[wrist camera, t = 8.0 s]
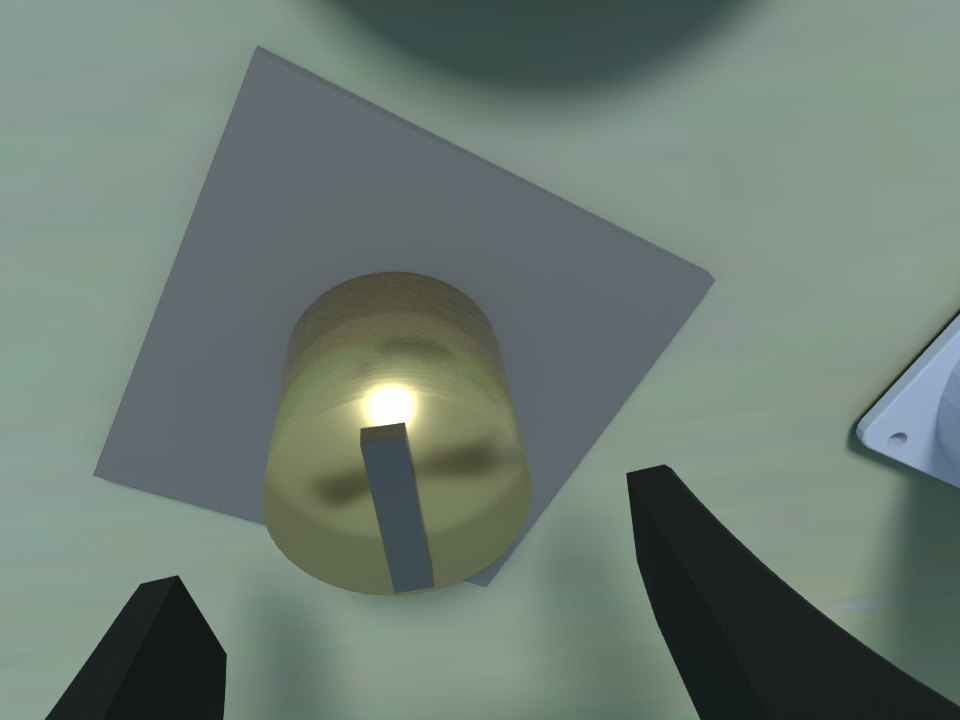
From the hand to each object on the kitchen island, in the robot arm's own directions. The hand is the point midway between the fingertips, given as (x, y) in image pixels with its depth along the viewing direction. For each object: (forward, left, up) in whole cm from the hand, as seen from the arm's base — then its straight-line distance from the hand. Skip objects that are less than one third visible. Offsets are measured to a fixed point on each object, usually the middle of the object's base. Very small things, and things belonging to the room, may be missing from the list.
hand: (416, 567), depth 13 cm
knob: (0, 0, -5) cm, 5 cm away
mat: (0, 0, -6) cm, 6 cm away
